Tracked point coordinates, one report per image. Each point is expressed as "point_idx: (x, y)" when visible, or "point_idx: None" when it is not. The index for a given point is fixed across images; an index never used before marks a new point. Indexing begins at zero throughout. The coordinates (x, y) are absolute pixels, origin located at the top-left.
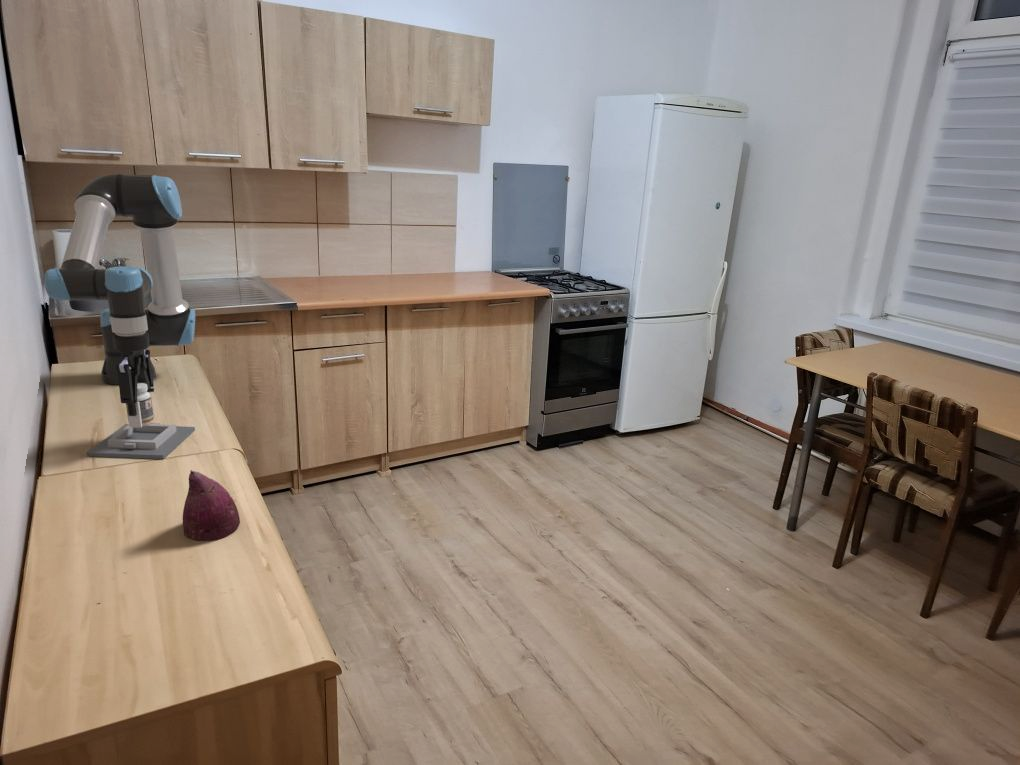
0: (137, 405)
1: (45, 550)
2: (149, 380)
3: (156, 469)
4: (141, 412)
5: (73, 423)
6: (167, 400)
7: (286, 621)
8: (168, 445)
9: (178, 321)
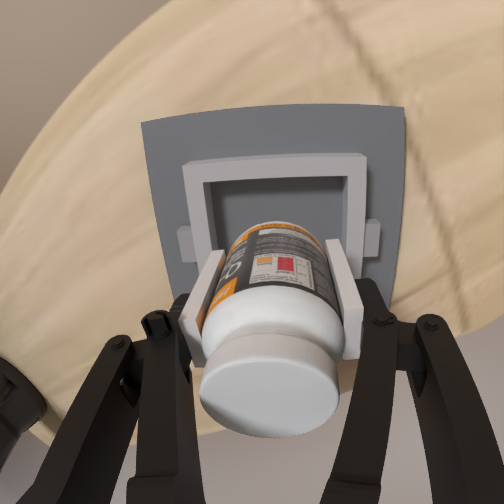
0: (358, 301)
1: None
2: (120, 375)
3: (461, 105)
4: (327, 270)
5: (199, 412)
6: (27, 303)
7: None
8: (322, 124)
9: None
